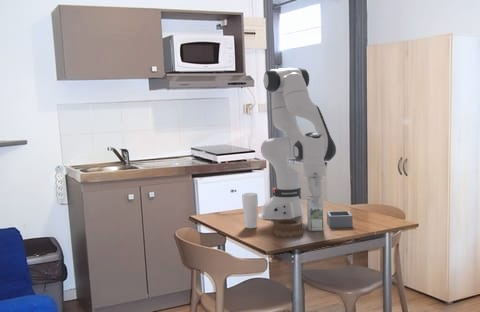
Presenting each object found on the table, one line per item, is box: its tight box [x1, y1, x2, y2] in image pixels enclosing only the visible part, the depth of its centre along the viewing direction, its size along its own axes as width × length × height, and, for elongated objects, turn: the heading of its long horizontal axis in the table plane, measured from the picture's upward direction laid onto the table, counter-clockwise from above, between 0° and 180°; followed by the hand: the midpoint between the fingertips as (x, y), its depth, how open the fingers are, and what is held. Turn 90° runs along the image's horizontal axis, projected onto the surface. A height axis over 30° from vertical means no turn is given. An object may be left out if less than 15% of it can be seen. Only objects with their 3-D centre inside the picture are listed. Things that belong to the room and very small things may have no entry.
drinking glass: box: [241, 192, 259, 229], centre depth 225 cm, size 7×7×15 cm
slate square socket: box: [326, 210, 354, 229], centre depth 223 cm, size 10×10×5 cm
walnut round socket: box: [273, 218, 304, 239], centre depth 211 cm, size 12×12×5 cm
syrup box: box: [306, 195, 324, 232], centre depth 215 cm, size 6×6×14 cm
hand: (315, 203), depth 215 cm, fingers closed on syrup box, 6 cm apart
